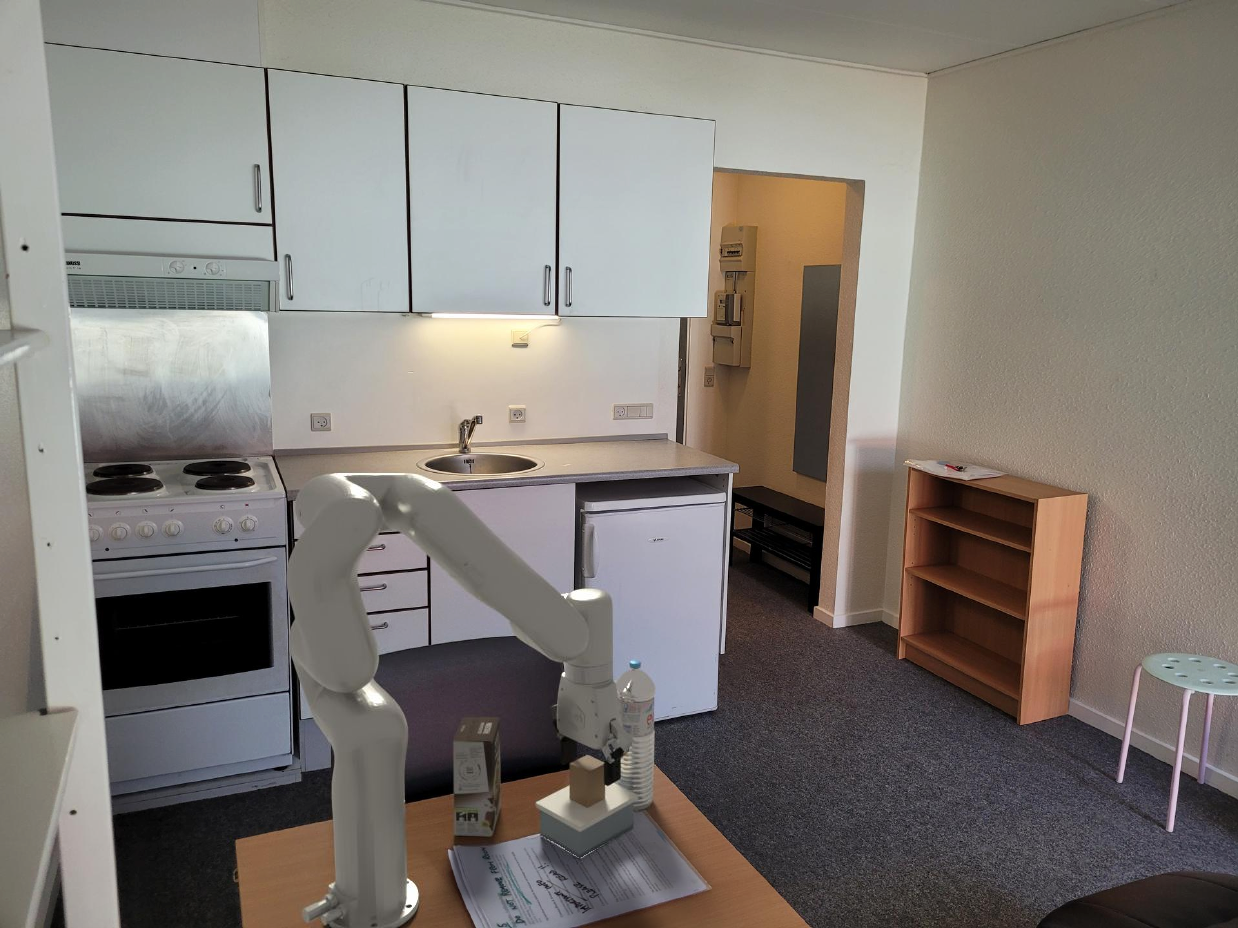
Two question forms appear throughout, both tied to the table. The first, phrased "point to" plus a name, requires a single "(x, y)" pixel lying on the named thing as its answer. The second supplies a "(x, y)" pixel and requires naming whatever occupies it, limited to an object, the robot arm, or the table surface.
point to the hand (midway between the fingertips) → (590, 771)
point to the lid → (586, 796)
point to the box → (587, 831)
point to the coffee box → (476, 776)
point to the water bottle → (637, 733)
